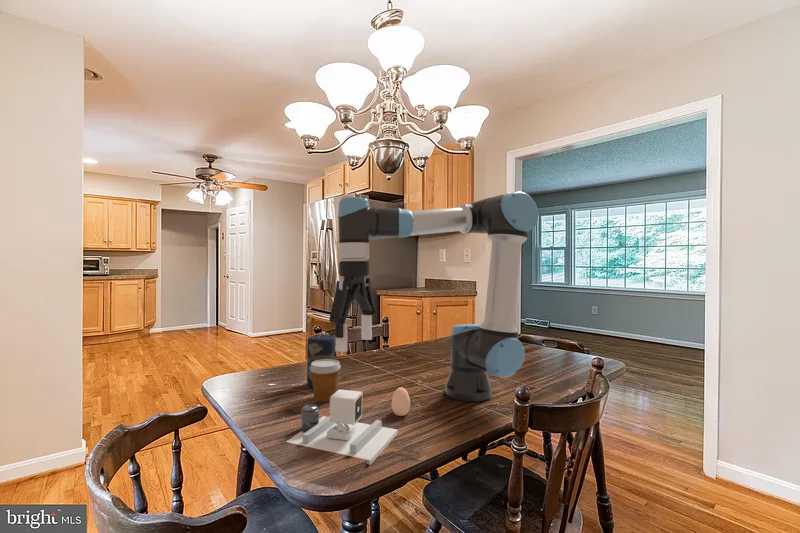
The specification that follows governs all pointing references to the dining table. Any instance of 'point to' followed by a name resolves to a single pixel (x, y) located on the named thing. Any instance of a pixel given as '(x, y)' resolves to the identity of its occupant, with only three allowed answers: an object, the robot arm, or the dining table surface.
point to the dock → (360, 445)
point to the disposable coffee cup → (324, 378)
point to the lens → (309, 417)
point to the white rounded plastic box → (344, 413)
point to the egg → (400, 402)
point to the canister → (319, 351)
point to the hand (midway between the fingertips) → (354, 345)
